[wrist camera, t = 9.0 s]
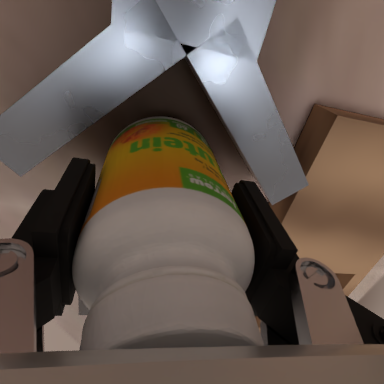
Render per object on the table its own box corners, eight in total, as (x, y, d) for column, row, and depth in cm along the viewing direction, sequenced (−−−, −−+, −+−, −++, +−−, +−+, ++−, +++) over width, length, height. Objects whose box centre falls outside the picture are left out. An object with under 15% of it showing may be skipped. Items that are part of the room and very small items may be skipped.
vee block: (-26, -128, 8) (-106, -196, 5) (352, 2, 11) (410, -4, 9) (14, 142, 13) (-21, 172, 10) (273, 178, 16) (296, 208, 13)
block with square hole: (314, 103, 13) (337, 115, 12) (442, 132, 16) (476, 145, 14) (208, 333, 25) (212, 355, 23) (290, 332, 27) (299, 352, 25)
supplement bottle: (225, 126, 13) (355, 308, 5) (197, 212, 15) (248, 421, 7) (111, 102, 11) (13, 298, 3) (102, 201, 14) (39, 440, 6)
